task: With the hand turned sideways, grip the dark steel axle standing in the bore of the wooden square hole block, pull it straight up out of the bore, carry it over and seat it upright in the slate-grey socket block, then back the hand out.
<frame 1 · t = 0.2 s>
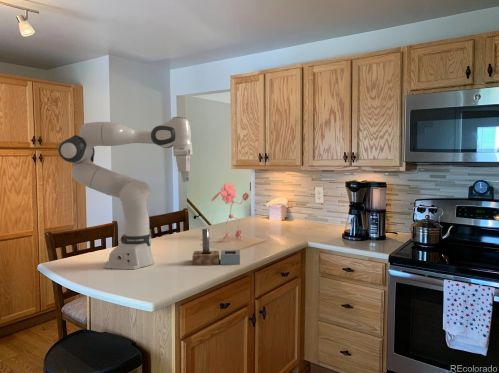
hand: (185, 181, 179), 39 cm above the countertop, tool pointing down, fingers open, 8 cm apart
socket block: (230, 261, 183), on the countertop
steel axle: (205, 245, 182), in the wooden square hole block
figurine: (228, 240, 233), on the countertop
wooden square hole block: (206, 262, 183), on the countertop
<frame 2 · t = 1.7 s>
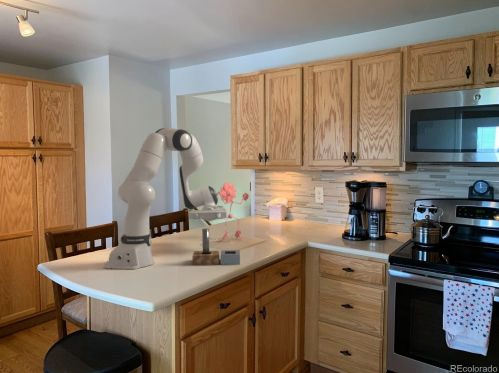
hand: (207, 216, 193), 20 cm above the countertop, tool horizontal, fingers open, 8 cm apart
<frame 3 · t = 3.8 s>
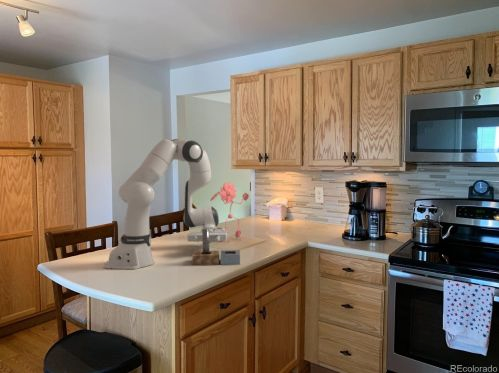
hand: (206, 239, 189), 9 cm above the countertop, tool horizontal, fingers open, 8 cm apart
nothing on the countertop moved.
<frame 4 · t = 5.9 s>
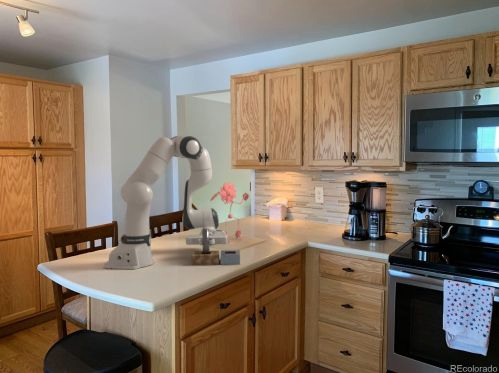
hand: (205, 243, 181), 10 cm above the countertop, tool horizontal, fingers closed on steel axle, 3 cm apart
steel axle: (205, 245, 182), in the wooden square hole block, touching gripper
everything else where it was.
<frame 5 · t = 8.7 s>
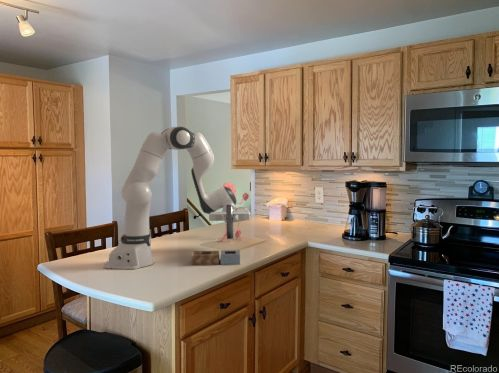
hand: (229, 218, 181), 21 cm above the countertop, tool horizontal, fingers closed on steel axle, 3 cm apart
steel axle: (229, 221, 182), point 19 cm above the countertop, touching gripper
everything else where it was.
when the fingers open (10 cm above the countertop, at t = 11.3 s): steel axle stays where it is, resting in socket block.
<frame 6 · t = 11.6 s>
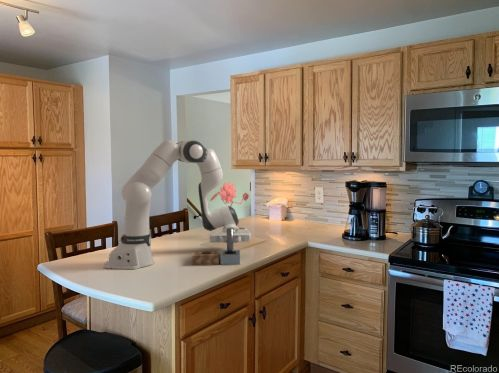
hand: (230, 240, 181), 10 cm above the countertop, tool horizontal, fingers open, 5 cm apart
steel axle: (230, 245, 183), in the socket block
everything else where it was.
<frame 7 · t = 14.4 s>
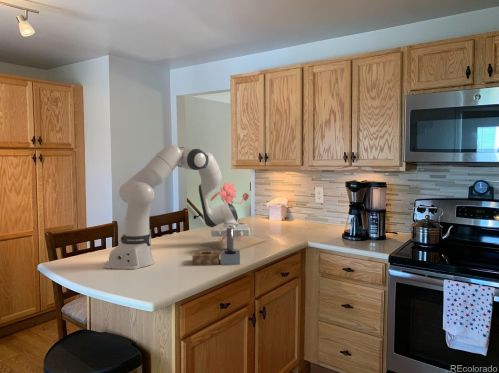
hand: (230, 234, 194), 11 cm above the countertop, tool horizontal, fingers open, 8 cm apart
nothing on the countertop moved.
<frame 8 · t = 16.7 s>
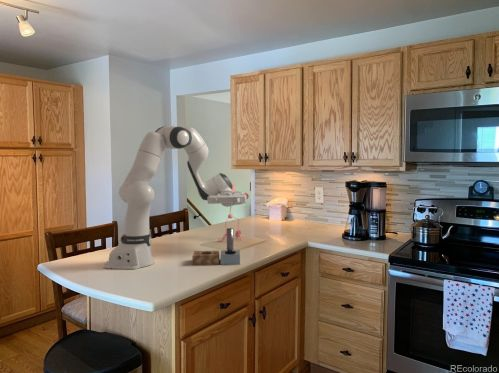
hand: (226, 201, 192), 28 cm above the countertop, tool horizontal, fingers open, 8 cm apart
nothing on the countertop moved.
at the end: steel axle 0.1 cm off-centre on the socket block, point 8.0 cm above the socket block's base; steel axle tilted 0°; the gripper is holding nothing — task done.
